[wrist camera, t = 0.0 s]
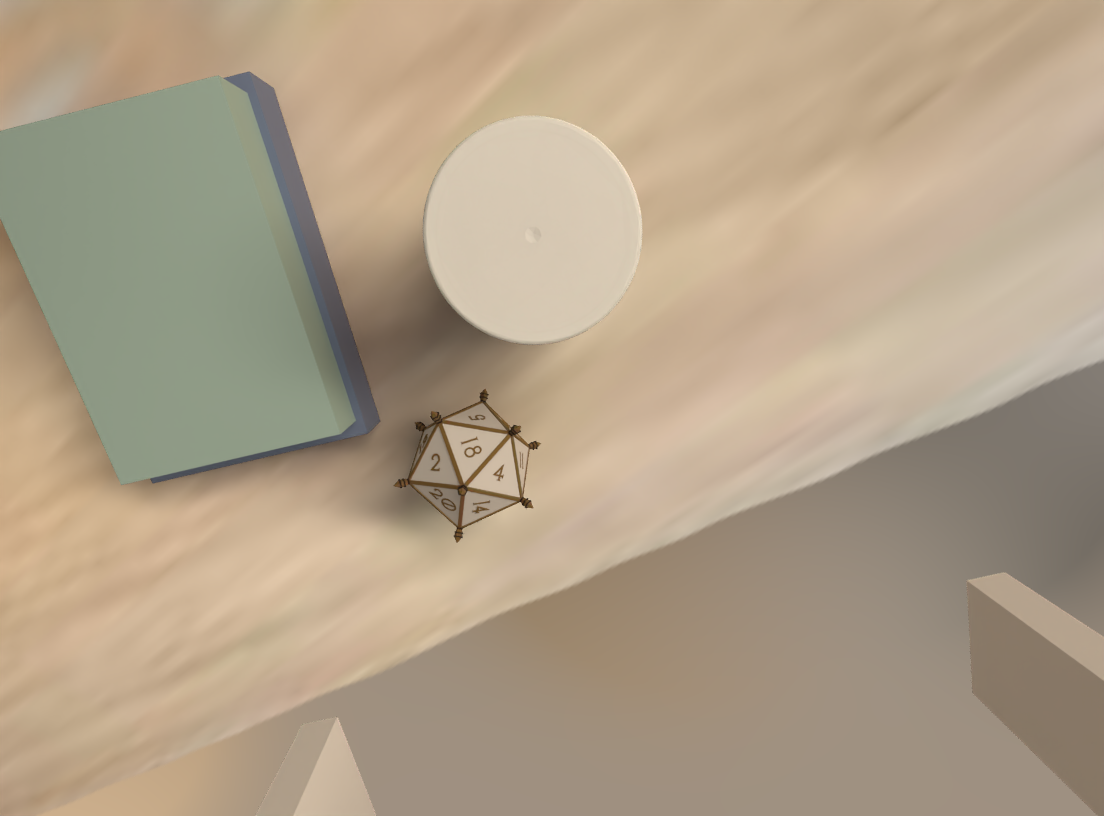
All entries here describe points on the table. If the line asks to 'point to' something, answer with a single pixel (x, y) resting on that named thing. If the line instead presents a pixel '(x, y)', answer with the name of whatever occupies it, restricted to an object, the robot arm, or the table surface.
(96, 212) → the book pile
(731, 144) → the table surface
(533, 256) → the supplement tub
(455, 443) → the game die
